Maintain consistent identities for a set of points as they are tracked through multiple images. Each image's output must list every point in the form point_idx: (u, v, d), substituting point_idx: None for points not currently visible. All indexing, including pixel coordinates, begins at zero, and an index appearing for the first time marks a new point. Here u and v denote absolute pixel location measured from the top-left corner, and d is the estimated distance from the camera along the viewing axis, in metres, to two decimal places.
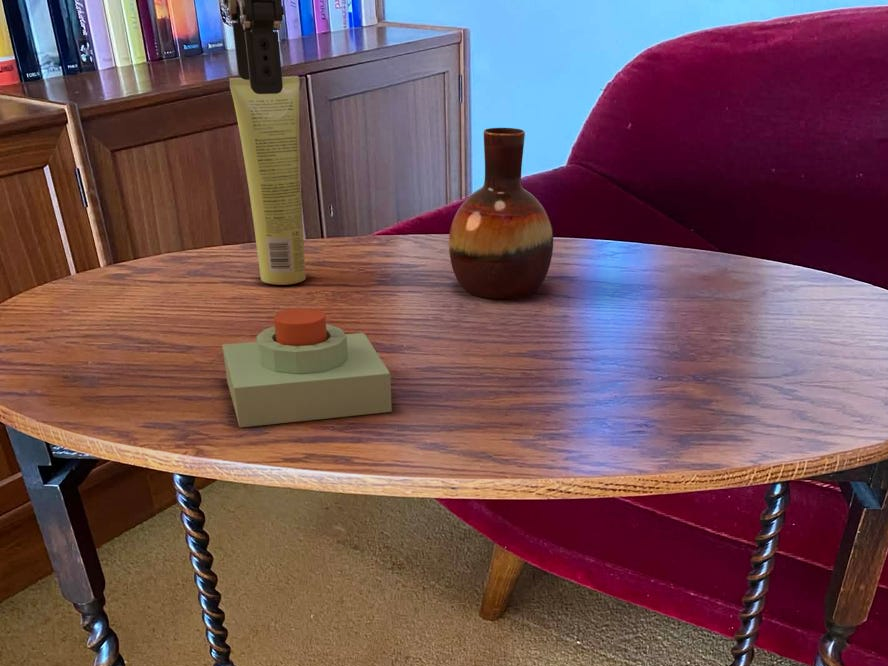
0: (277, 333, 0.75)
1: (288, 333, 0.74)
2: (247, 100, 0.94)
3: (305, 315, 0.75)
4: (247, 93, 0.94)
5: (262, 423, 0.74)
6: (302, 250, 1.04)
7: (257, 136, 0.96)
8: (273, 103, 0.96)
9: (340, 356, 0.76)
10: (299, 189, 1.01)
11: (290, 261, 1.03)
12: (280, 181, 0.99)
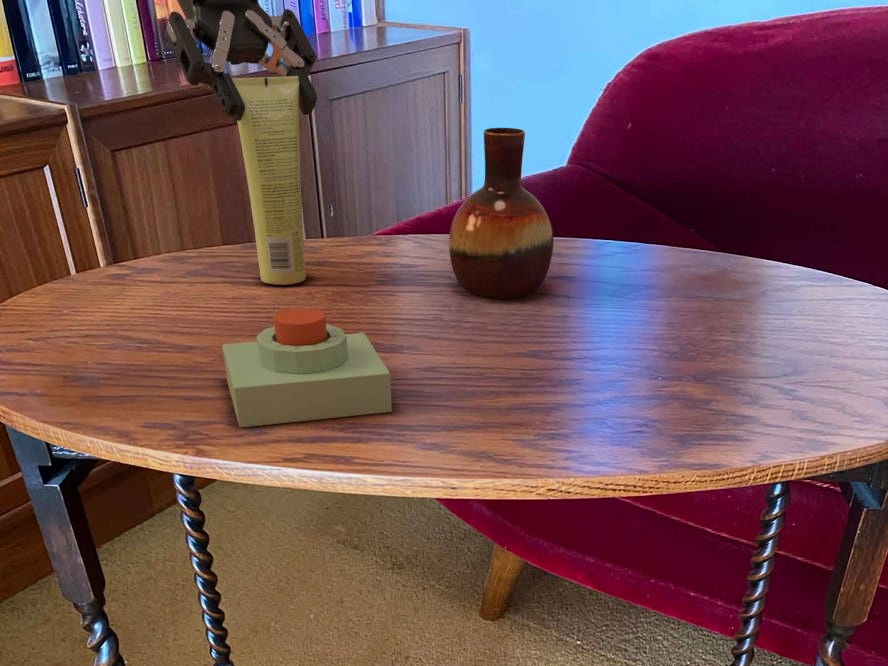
0: (277, 333, 0.75)
1: (288, 333, 0.74)
2: (247, 100, 0.94)
3: (305, 315, 0.75)
4: (247, 93, 0.94)
5: (262, 423, 0.74)
6: (302, 250, 1.04)
7: (257, 137, 0.96)
8: (273, 103, 0.96)
9: (340, 356, 0.76)
10: (299, 189, 1.01)
11: (290, 261, 1.03)
12: (279, 181, 0.99)
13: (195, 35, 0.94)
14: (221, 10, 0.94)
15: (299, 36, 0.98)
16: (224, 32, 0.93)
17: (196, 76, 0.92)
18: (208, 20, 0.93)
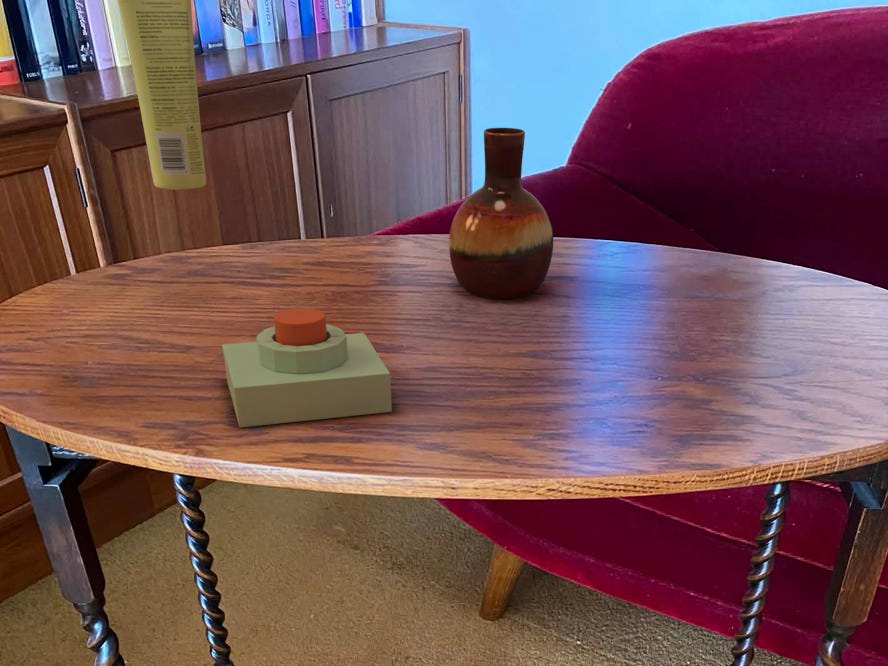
0: (277, 333, 0.75)
1: (288, 333, 0.74)
2: None
3: (305, 315, 0.75)
4: None
5: (262, 423, 0.74)
6: (200, 150, 0.90)
7: (138, 8, 0.82)
8: None
9: (340, 356, 0.76)
10: (193, 76, 0.87)
11: (185, 162, 0.89)
12: (168, 64, 0.85)
13: None
14: None
15: None
16: None
17: None
18: None
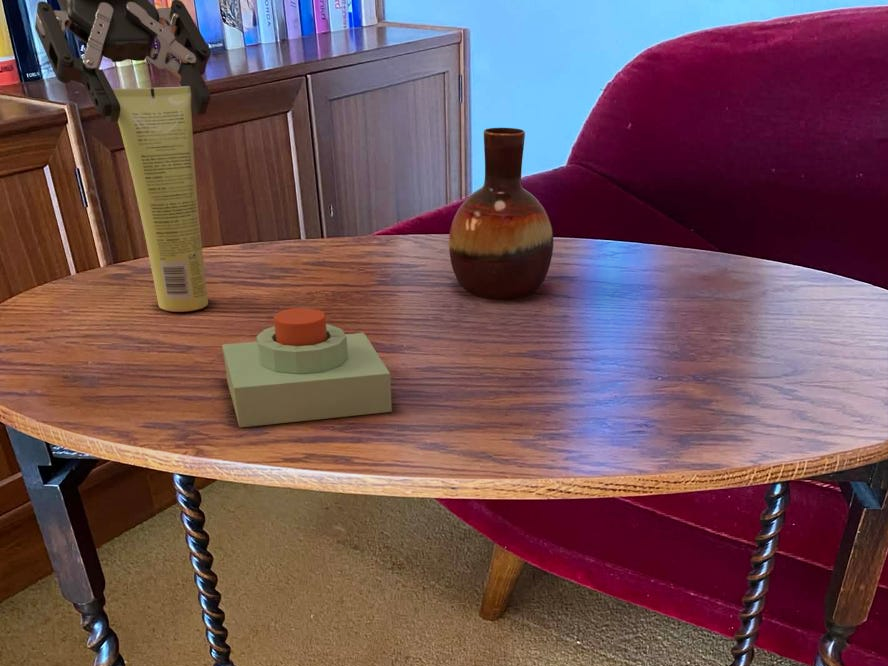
0: (277, 333, 0.75)
1: (288, 333, 0.74)
2: (130, 113, 0.86)
3: (305, 315, 0.75)
4: (130, 105, 0.86)
5: (262, 423, 0.74)
6: (202, 274, 0.96)
7: (143, 152, 0.88)
8: (161, 116, 0.88)
9: (340, 356, 0.76)
10: (195, 209, 0.93)
11: (188, 287, 0.95)
12: (171, 200, 0.91)
13: (70, 29, 0.85)
14: (99, 2, 0.86)
15: (190, 29, 0.89)
16: (99, 25, 0.84)
17: (65, 73, 0.83)
18: (83, 13, 0.85)
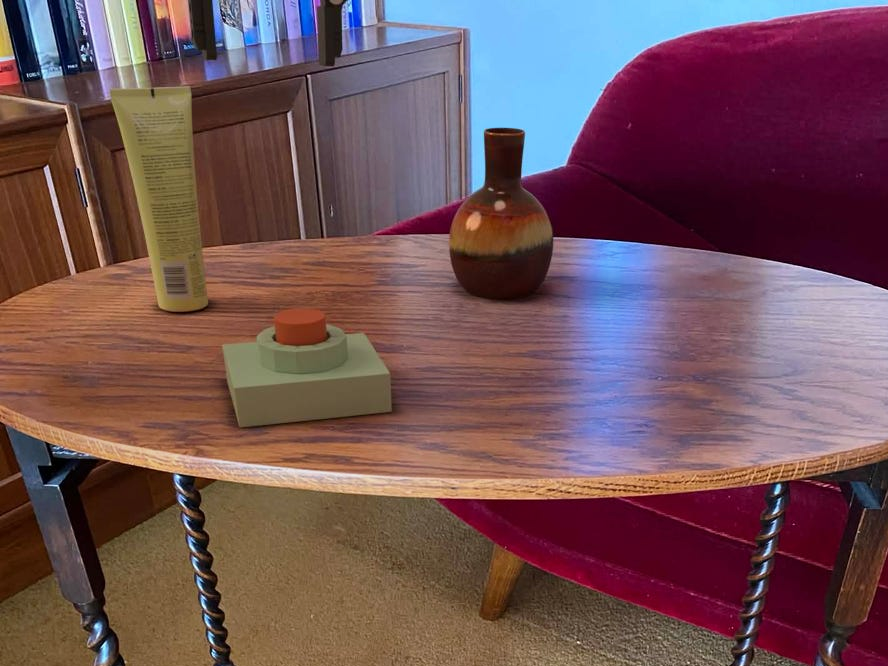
0: (277, 333, 0.75)
1: (288, 333, 0.74)
2: (130, 113, 0.86)
3: (305, 315, 0.75)
4: (130, 105, 0.86)
5: (262, 423, 0.74)
6: (202, 274, 0.96)
7: (143, 152, 0.88)
8: (161, 116, 0.88)
9: (340, 356, 0.76)
10: (195, 209, 0.93)
11: (188, 287, 0.95)
12: (171, 200, 0.91)
13: None
14: None
15: None
16: None
17: None
18: None
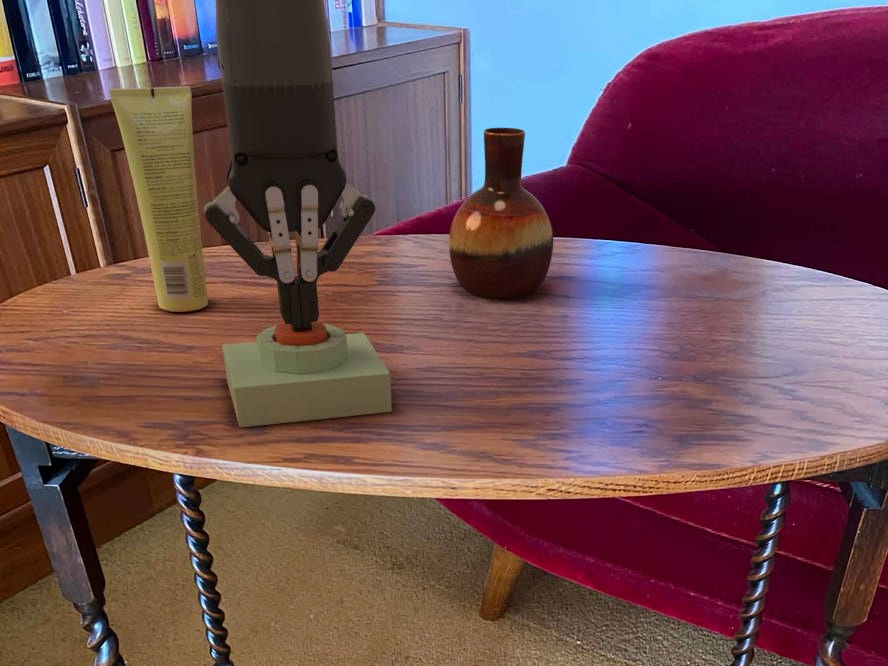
0: None
1: (290, 345, 0.75)
2: (130, 113, 0.86)
3: None
4: (130, 105, 0.86)
5: (262, 423, 0.74)
6: (202, 274, 0.96)
7: (143, 152, 0.88)
8: (161, 116, 0.88)
9: (340, 356, 0.76)
10: (195, 209, 0.93)
11: (188, 287, 0.95)
12: (171, 200, 0.91)
13: None
14: (272, 172, 0.68)
15: (346, 236, 0.72)
16: (277, 223, 0.69)
17: None
18: (249, 187, 0.68)
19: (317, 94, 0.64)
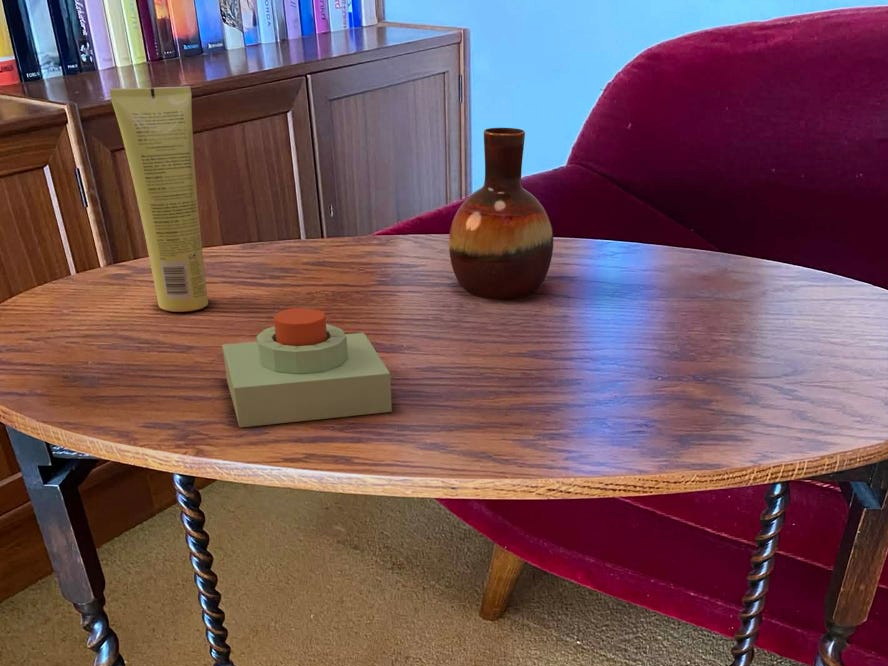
0: (277, 333, 0.75)
1: (288, 333, 0.74)
2: (130, 113, 0.86)
3: (305, 315, 0.75)
4: (130, 105, 0.86)
5: (262, 423, 0.74)
6: (202, 274, 0.96)
7: (143, 152, 0.88)
8: (161, 116, 0.88)
9: (340, 356, 0.76)
10: (195, 209, 0.93)
11: (188, 287, 0.95)
12: (171, 200, 0.91)
13: None
14: None
15: None
16: None
17: None
18: None
19: None
